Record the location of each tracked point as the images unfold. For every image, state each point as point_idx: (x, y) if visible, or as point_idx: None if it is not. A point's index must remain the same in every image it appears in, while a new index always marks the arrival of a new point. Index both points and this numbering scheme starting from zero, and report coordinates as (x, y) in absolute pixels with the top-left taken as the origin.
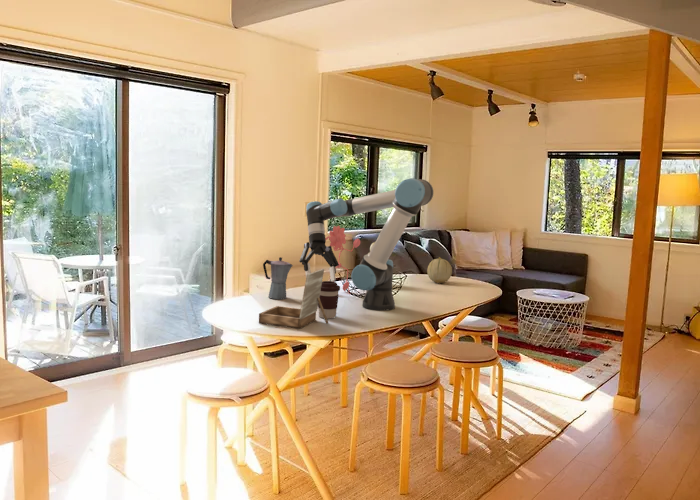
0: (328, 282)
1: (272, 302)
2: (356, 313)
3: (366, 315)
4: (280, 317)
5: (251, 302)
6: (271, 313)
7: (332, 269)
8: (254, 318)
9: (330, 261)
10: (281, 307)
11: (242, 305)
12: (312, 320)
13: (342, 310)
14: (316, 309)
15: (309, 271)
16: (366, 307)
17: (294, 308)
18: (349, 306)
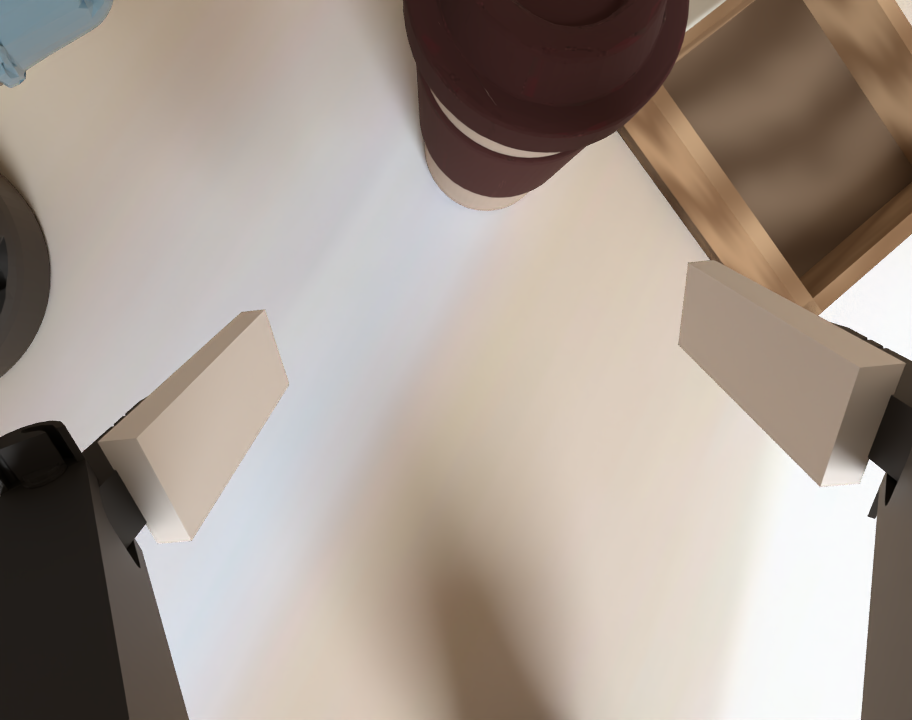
0: (529, 19)
1: (633, 680)
2: (222, 156)
3: (182, 70)
4: (905, 34)
5: (758, 716)
6: (855, 243)
7: (186, 420)
8: (900, 300)
9: (106, 551)
10: (795, 276)
11: (839, 646)
12: None
13: (275, 282)
14: None
15: (760, 288)
16: (42, 254)
17: (734, 201)
18: (144, 381)
